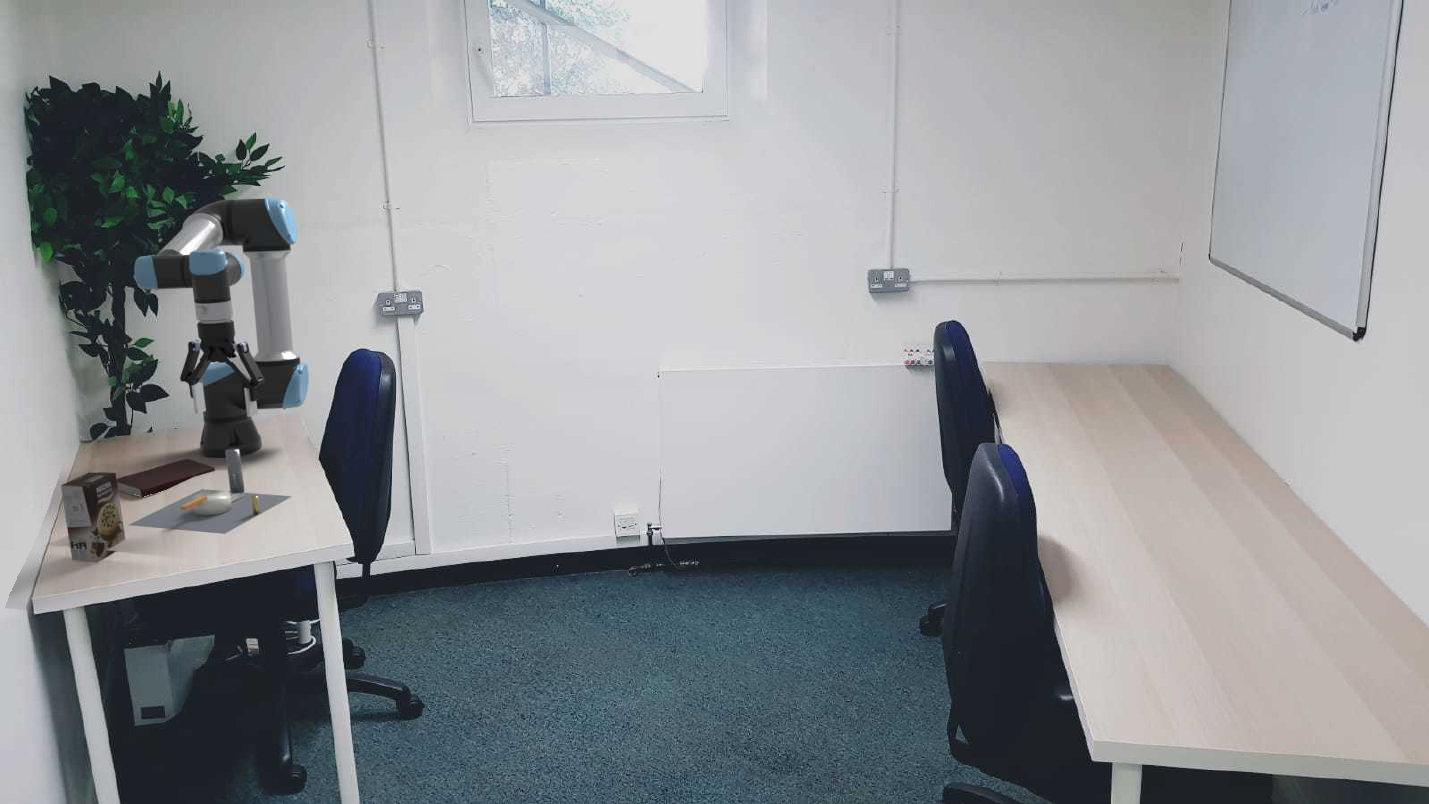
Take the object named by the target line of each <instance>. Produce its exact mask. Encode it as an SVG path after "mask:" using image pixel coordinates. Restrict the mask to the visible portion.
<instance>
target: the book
mask: <svg viewBox="0 0 1429 804" xmlns="http://www.w3.org/2000/svg"><path fill="white" fill-rule="evenodd" d="M212 472H216V468H215V467H214V466H211V465H208V464H205V463H203V462H201V461H197V460H194V459H190V458H184V459H183V458H182V459H180V460H176V461H173V462H169V463H166V464H162V465H159V466H156V467H153V468H152V467H151V468H149V469H147V470H142V471H138V472H135V473H133V474H132V473H131V474H128V475H125V476H122V477H118V478H117V477H116V478H117V485H118V490H119V491H118V492H121V491H123V492H122V493H124V492H127V493H126V494H128V493H130V494H129V495H131V494H136V495H139V496H141V497H144V496H147V495H150V494H155V493H158V492H161V491H163V492H165V491H168V490H169V489H171V488H174V487H175V486H177V485H180V484H182V483H184V482H187V481H188V480H190V479H193V478H195V477H199V476H202V475H205V474H209V473H212ZM164 490H165V491H164ZM161 493H162V492H161ZM158 494H159V493H158ZM155 495H156V494H155ZM141 497H140V498H141Z"/></svg>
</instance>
